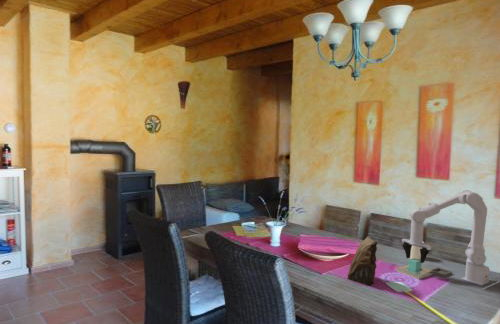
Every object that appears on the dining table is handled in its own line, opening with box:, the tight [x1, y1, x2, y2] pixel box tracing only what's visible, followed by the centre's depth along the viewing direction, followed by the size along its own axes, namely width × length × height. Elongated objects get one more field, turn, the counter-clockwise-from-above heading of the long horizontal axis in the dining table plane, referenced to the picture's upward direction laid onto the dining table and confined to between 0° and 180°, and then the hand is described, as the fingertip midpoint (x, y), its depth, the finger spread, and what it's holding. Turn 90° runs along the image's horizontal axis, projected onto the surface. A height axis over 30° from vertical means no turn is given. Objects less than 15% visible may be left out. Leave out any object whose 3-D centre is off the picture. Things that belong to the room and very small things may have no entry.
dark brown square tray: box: [430, 267, 455, 279], centre depth 185 cm, size 9×9×2 cm
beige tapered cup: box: [409, 241, 425, 260], centre depth 208 cm, size 8×8×10 cm
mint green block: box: [407, 258, 422, 272], centre depth 184 cm, size 4×5×7 cm
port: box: [396, 263, 433, 280], centre depth 184 cm, size 12×12×3 cm
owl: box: [346, 235, 378, 287], centre depth 172 cm, size 13×13×20 cm
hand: (415, 260), depth 183 cm, fingers open, 7 cm apart
